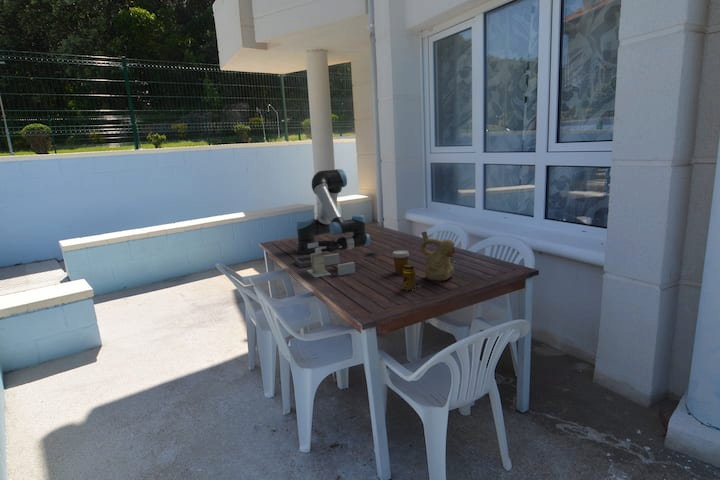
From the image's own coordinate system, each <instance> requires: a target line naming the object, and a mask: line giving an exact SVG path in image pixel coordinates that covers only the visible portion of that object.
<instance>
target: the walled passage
mask: <svg viewBox="0 0 720 480" xmlns="http://www.w3.org/2000/svg"><path fill="white" fill-rule="evenodd" d="M324 265H325V266H330V265H332V266H333V265H337V266H336V267H337V275H338V276H344V275H351V274H355V273H356V262H354V261H351V262H345V263H341V261H340V253H339V252H337V253H332V254H331V253H330V254H326V255H324Z"/></svg>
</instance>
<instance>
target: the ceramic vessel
mask: <svg viewBox="0 0 720 480" xmlns="http://www.w3.org/2000/svg"><path fill="white" fill-rule="evenodd" d="M421 236H422V240H423V241H422V242H421V243H420V251H421V253H422V254H423V255H425V256H427V259H426V261H425V265H424V273H425V277H426V278H427V279H428V280H431V281H436V280H437V282H438V281H439V282H441V281H442V280H443V281H446V280H449V278H451V276H452V275H453V274H454V272H455V269H454V266H453V265H452V264H451V258H453V256H455V253H457V251H456V249H455V245H456V244H455V242H454V241H453V240H451V239H444V240H439V239H435V238H429V236H428V232H427V231H426V230H425V231H422V232H421ZM428 244H435V245H436V246H437V248H436V249H435V250H433V251H430V250H428V249H427V248H426V245H428Z"/></svg>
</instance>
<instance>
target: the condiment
mask: <svg viewBox="0 0 720 480" xmlns="http://www.w3.org/2000/svg"><path fill="white" fill-rule="evenodd" d="M402 277H403V287H404V289H406V290H405V291H408V290H412V291H411V292H414V291H416V290H417V289H420V288H421V287H422V286H421V285H416V271H415V265H413V264H408V265H404V271H403V274H402ZM415 287H416V288H415ZM414 289H415V290H414ZM413 290H414V291H413Z"/></svg>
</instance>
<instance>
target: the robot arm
mask: <svg viewBox="0 0 720 480" xmlns="http://www.w3.org/2000/svg"><path fill="white" fill-rule="evenodd" d="M347 185H348V177H347V175H346V172H345V171H344V169H338V168H336V169H329V170H327V169H325V170H320V171H318V172H316V173H315V174H314V175H313V177H312V179H311V189H312V192H313V193H314V195H316V196H317V198H318V200H319V202H320V204H321V209H320V213H318V214H317V216H316V218H313V217H304V218H302V219H299V220H297V221H296V234H297V245H296V254H298V255H311V254H313V253H322V254H323V253H333V252H335V251H338V250H339V251H344V250H351V249H355V248H364V247H366V246H369V245H370V244H371V236H370V234H369V233H366V220H365V219H366V218H365V215H363V214H354V215H352V217H351V218H350V219H346V220H345V219H344V218H343V215H341V213H340V210H339V209H338V207H337V205H336V204H337V200H338V196H339V193H341V192H342V189H343V188H345V187H346V186H347ZM349 233H353V235H347V236H341V237H338V238H337V240H334V239H332V240H317V242H316V236H323V235H329V234H331V235H332V236H333V235H334V236H336V235H337V236H338V235H344V234H349Z"/></svg>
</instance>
